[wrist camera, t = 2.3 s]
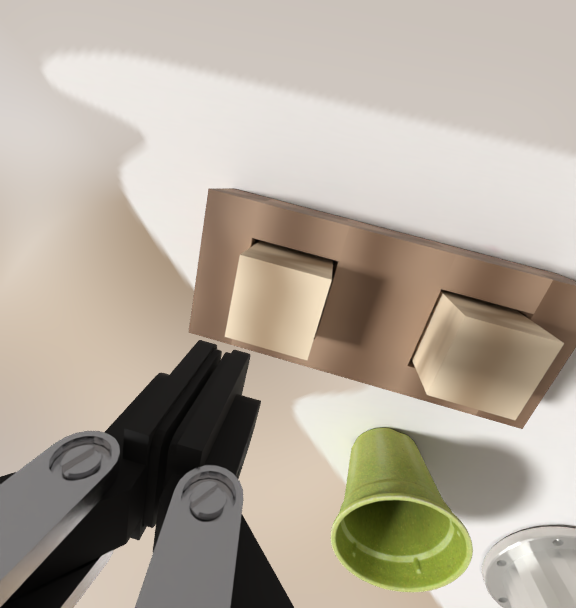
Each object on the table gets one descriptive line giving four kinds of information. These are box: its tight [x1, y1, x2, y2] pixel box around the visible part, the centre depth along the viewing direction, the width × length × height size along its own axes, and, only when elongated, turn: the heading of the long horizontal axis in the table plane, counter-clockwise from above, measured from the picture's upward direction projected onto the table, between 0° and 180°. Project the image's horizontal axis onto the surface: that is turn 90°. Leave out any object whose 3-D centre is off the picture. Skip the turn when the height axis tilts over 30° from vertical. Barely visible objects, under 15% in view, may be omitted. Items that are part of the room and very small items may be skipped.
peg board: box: [189, 188, 576, 429], centre depth 23 cm, size 24×10×5 cm, turn 76°
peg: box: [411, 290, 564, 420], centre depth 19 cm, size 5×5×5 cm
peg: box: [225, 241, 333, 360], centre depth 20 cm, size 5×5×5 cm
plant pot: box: [331, 428, 473, 592], centre depth 26 cm, size 9×9×9 cm
